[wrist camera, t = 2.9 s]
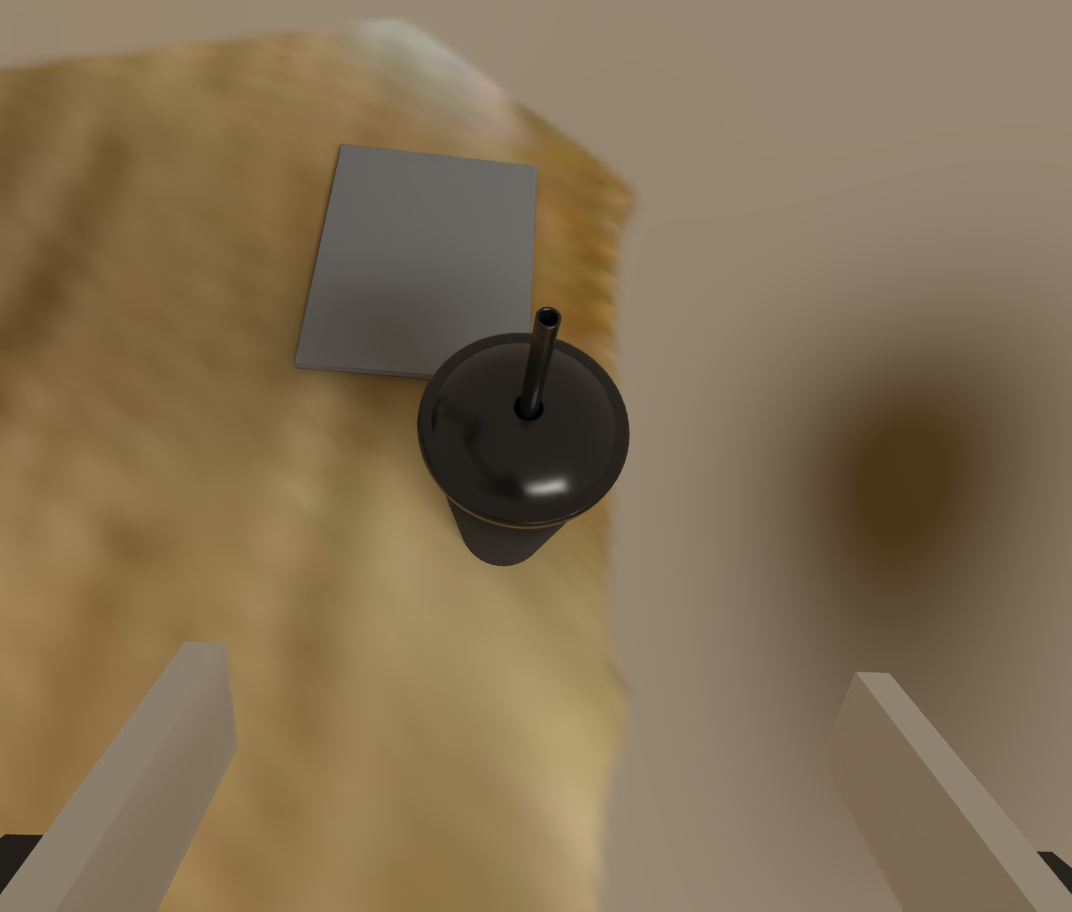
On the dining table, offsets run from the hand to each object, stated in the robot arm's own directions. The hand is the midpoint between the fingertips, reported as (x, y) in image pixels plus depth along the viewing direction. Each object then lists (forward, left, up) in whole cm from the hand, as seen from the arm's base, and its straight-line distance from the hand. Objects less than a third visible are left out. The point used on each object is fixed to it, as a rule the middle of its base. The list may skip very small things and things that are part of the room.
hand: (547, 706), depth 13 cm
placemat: (-6, +27, -19) cm, 34 cm away
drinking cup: (0, +9, -19) cm, 22 cm away
